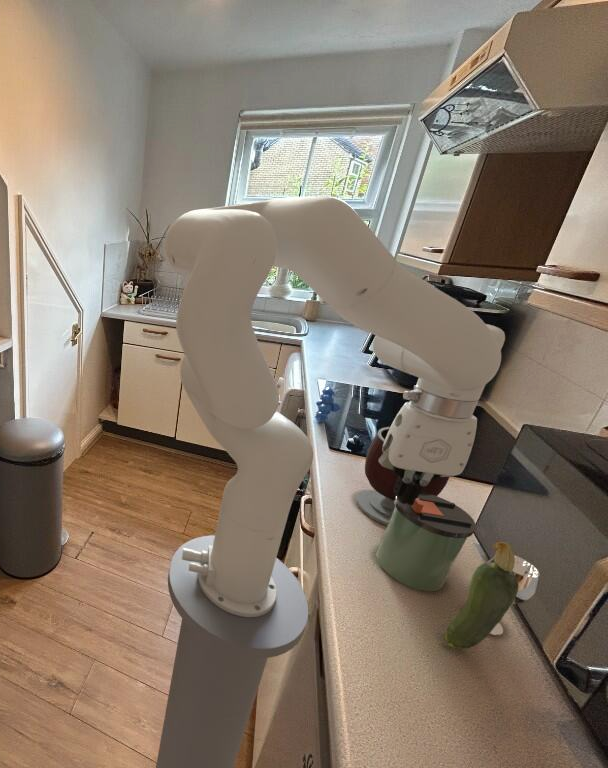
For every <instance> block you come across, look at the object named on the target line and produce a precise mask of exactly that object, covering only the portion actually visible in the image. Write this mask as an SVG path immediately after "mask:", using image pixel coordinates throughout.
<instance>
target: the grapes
mask: <svg viewBox="0 0 608 768" xmlns="http://www.w3.org/2000/svg"><path fill="white" fill-rule="evenodd" d="M321 392H322V394H320V399H319V400H317V401H316V402H315V404H316V406H317V409H318V410H317V411H315V416H314V418H315V420H316V421H317V422H318V423H324V422H325V421H328V418H329V417H328V415H330V414H331V412H333V413H335V412H338V411H339V410H341V407H340V404H339V403H338V402H335V399H334V398H333V396H334V395H335V391H334V390H333V388H332V387H329V386H328V387H325V388H323V389H322V390H321Z"/></svg>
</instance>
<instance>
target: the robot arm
mask: <svg viewBox="0 0 608 768" xmlns="http://www.w3.org/2000/svg"><path fill="white" fill-rule="evenodd" d="M163 253H164V257H165V260H166V262H167V264H168V266H169V268H170V269H171V270H173V271H174V272H175V274H177V275H179V276H180V277H182V278H184V279H187V282H186V283H185V286H184V289H183V291H182V295H181V298H180V301H179V304H178V308H177V312H176V318H175V319H176V321H175V325H176V326H175V328H176V329H175V330H176V334H177V338H178V341H179V344H180V346H181V349H182V351H183V352H184V356H183V357H182V359H181V363H180V368H179V374H180V375H179V377H180V381H181V384H182V387H183V389H184V391H185V393H186V396H187V397H188V398H189V400H190V402H191V404H192V405H193V407H194V410H196V412H197V414H198V416H199V417H200V420H201V421H202V422H203V423H202V424H204V426H205V428H206V430H207V431H208V432H209V434H210V435H211V436H212V437H213V439H214V440H215V441H216V442H217V443H218V444H219V445H220V446H221V447H222V448H223V450H224V451H225V452H226V453H228V455H229V457H231V458H232V460H233V461H234V462H235V464H236V466H237V471H236V474H235V475H234V476H233V477H231V478H230V479H229V480H228V481H227V483H226V484H225V486H224V489H223V493H222V497H221V502H220V508H219V513H218V518H217V523H216V528H215V533H214V535H215V538H214V543H213V546H210V545H209V547H208V551H203V550H202V553H201V552H197V551H194V550H191V549H186V548H183V554H182V560H186V561H191V562H192V561H194V562H198V563H200V565H198V564H196V563H191V562H189V571H192V572H198V580H199V584H200V586H201V588H202V590H203V592H204V593H205V595H206V596H207V597H208V598H209V599H210V600H211V601H212V602H213V603H214V604H215V605H217V606H218V607H219V608H221V609H223V610H225V611H226V612H229V613H231V614H234V615H237V616H242V617H258V616H261V615H264V614H266V613H268V612H269V611H270V610H271V609H272V608H273V606H274V604H275V601H276V597H277V588H276V584H275V582H274V580H273V578H272V577H271V575H272V571H273V568H274V564H275V560H276V558H278V557H277V556H278V553H279V549H280V546H281V543H282V538H283V535H284V533H285V532H284V531H285V528H286V525H287V522H288V519H289V514H290V511H291V507H292V504H293V502H294V499H295V496H296V494H297V492H298V490H299V488H300V486H301V484H302V482H303V481H304V479H305V477H306V476H307V474H308V472H309V470H310V469H311V466H312V464H313V460H314V449H313V446H312V443H311V441H310V439H309V438H308V436H307V435H306V434H305V432H304V431H303V430H302V429H301V428H300V427H299V426H297V424H295V423H294V422H293V421H291V420H290V419H289V418H287V417H286V416H284V414H282V413H280V412H279V411H277V410H278V407H279V403H280V402H279V401H280V400H279V399H280V397H279V396H280V394H279V388H278V385H277V382H276V380H275V377H274V374H273V373H272V372H273V371H272V370H271V368H270V366H269V364H268V361H267V359H266V356H265V355H264V352H263V350H262V348H261V345H260V343H259V341H258V338H257V335H256V333H255V330H254V326H253V323H252V310H253V306H254V304H255V301H256V299H257V296H258V295H259V292H260V291H261V289H262V286H263V285H264V284H265V281H266V280H267V279H268V277H269V275H270V273H271V271H272V268H273V267H275V268H279V269H286V270H288V271H291V272H292V273H294V275H296V276H297V277H298V278H300V279H301V281H303V282H304V283H305V284H306V285H307V287H309V288H310V289H311V290H312V291H313V292H314V293H315V294H316V295H317V296H318V297H319V298H320V299H321V300H322V301H323V302H324V303H326V304H327V305H328V306H329V308H330V309H331V310H332V311H334V313H336V315H338V316H339V317H340V318H342V319H343V320H345V321H346V322H348V323H350V324H352V325H353V326H355V327H357V328H359V329H361V330H363V331H365V332H367V333H370V334H372V335H374V338H373V342H372V349H373V352H374V355H375V357H377V359H378V360H379V361H380V362H382V363H383V364H385V365H387V366H388V367H391V368H393V369H395V370H398V371H400V372H402V373H406V374H408V375H410V376H411V375H412V376H414V377H417V378H418V379H417V382H416V385H414V386H413V388H412V390H409V391H408V390H405V391H403V394H402V398H403V400H408V401H406V402H405V403H403V405H402V407H400V410H399V411H398V412H397V414H396V415H395V418H394V419H393V421H392V423H391V425H390V426H389V427H390V429H389V431H388V433H387V436H386V438H385V441H384V444H383V447H382V451H383V454H382V456H381V457H380V458H379V460H378V461H379V463H380V464H381V465H382V466H383V467H386V468H388V469H391V470H395V471H396V473H397V474H398V475H399V477H398V479H397V482H396V484H395V487H394V493H395V495H396V496H397V498H398V499H399V501H400V502H401V503H402V504H406V503H407V504H409V505H413V504H414V501H415V499H417V498H418V496H419V493H420V491H421V489H422V486H426V485H428V483H429V482H430V481H432V480H434V479H436V478H438V477H449V478H453V477H455V476H459V475H461V474H462V473H463V472H464V470H465V468H466V466H467V464H468V462H469V458H470V455H471V453H472V449H473V446H474V442H475V438H476V433H477V427H478V418H477V417H476V416H475V415H474V412H475V410H476V407H477V405H478V404H479V400H480V399H481V396H482V394H483V391H484V389H485V387H486V385H487V384H488V383H489V382H491V381H492V380H493V378H494V377H495V376H496V375H497V373H498V371H499V369H500V366H501V363H502V348H503V347H504V343H505V342H506V335H505V331H504V330H502V328H500V327H497V326H495V325H491V324H487V323H485V322H484V320H483V319H482V318H480V316H479V315H478V314H477V313H475V312H474V311H473V310H472V309H470V308H469V307H467V306H466V305H465V304H463V303H462V302H460V301H458V299H455V298H453V296H450V295H449V294H447V293H445V292H444V291H442V290H440V289H439V288H437V287H436V286H434V285H433V284H431V283H429V282H428V281H426V280H424V279H423V278H421V277H419V276H417V275H415V274H414V273H413V272H410V271H408V270H407V269H405V268H404V267H403V265H401V263H399V261H398V260H397V259H396V258H395V256H394V255H393V254H392V253H391V252H390V251H389V250H388V248H387V247H386V246H385V244H383V242H382V241H381V240H380V239H379V238H378V236H377V235H376V234H375V232H374V231H373V230H372V229H371V228H370V226H368V224H367V223H366V222H365V221H364V220H363V219H362V218H361V216H360V215H359V214H358V213H357V211H356V210H355V209H354V208H353V207H352V206H351V205H349V204H348V203H347V202H345V201H344V200H342V199H340V198H338V197H334V196H328V195H327V196H326V195H313V196H310V195H309V196H294V197H293V196H291V197H280V198H279V197H277V198H273V199H267V200H260V201H255V202H248V203H241V204H233V205H225V206H217V207H209V208H199V209H193V210H190V211H187V212H185V213H183V214H182V215H180V216H178V217H177V218H176V219H175V220H174V221H173V223H172V224H171V225H170V227H169V228H168V230H167V232H166V234H165V238H164V241H163Z"/></svg>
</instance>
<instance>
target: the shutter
mask: <svg viewBox="0 0 608 768" xmlns="http://www.w3.org/2000/svg"><path fill="white" fill-rule="evenodd" d="M411 507H412V508H413V509H414V511H415V512H416V513H419V514H421V513H425V514H431V515H437V516H442V517H444V515H443V514H442V513H441V511H440V510H439V509H438V508H437V506H436V505H435V504H434V503H433V502H428V501H422V500H419V498H417V499H415V501H414V504H413V505H411Z"/></svg>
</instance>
